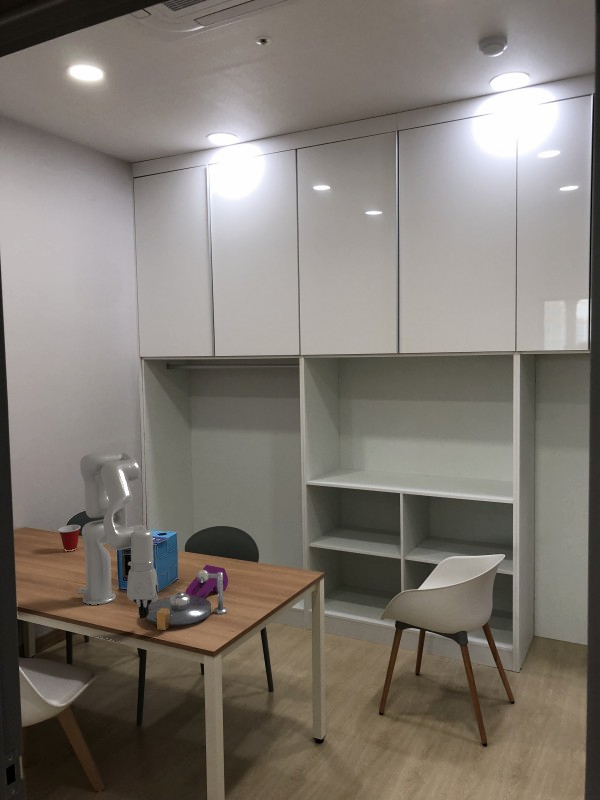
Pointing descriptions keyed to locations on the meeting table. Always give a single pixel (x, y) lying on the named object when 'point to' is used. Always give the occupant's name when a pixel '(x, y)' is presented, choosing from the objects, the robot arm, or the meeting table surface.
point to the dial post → (203, 577)
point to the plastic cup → (69, 536)
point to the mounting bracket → (207, 583)
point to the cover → (179, 602)
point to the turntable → (178, 612)
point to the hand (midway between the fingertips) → (143, 616)
